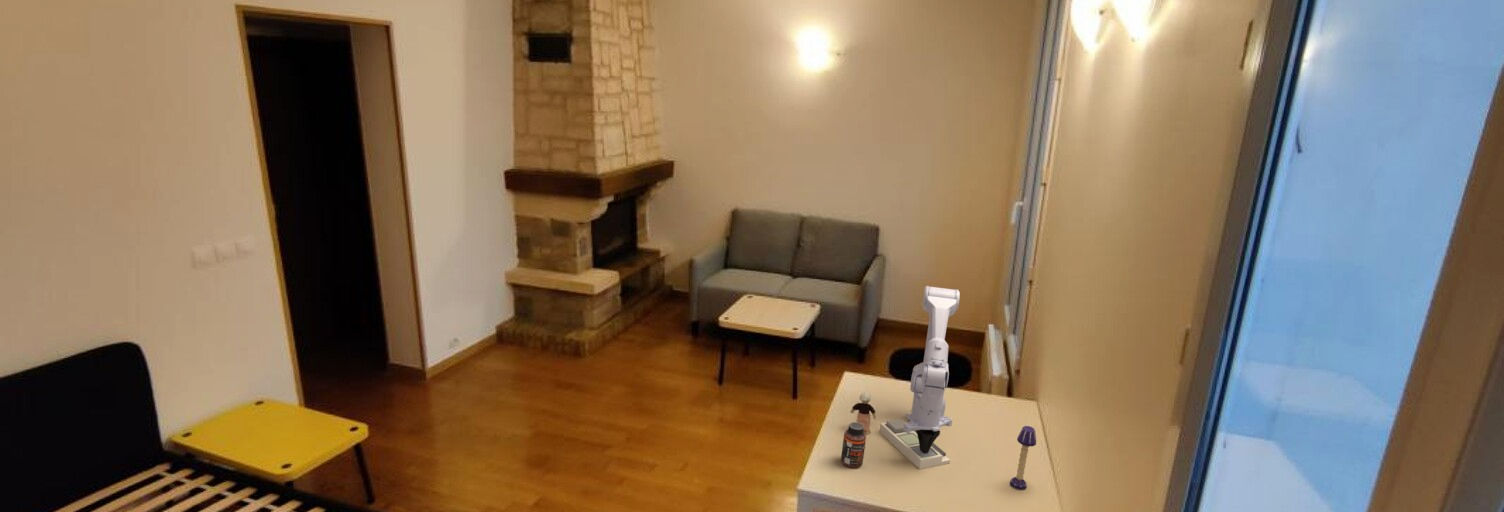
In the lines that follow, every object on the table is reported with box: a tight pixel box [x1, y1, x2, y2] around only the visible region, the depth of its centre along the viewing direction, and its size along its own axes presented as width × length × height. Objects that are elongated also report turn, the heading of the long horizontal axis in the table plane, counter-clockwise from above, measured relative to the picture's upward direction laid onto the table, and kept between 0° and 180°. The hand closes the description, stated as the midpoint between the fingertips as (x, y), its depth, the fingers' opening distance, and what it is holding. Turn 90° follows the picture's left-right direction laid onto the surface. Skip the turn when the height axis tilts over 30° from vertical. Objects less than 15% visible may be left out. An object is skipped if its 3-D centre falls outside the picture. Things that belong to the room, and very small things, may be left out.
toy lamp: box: [1009, 425, 1037, 490], centre depth 184 cm, size 5×5×17 cm
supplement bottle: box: [840, 421, 867, 469], centre depth 190 cm, size 6×6×11 cm
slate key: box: [912, 447, 936, 458], centre depth 195 cm, size 5×5×1 cm
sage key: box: [898, 434, 919, 446], centre depth 200 cm, size 5×5×1 cm
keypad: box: [879, 421, 951, 470], centre depth 201 cm, size 10×20×3 cm, turn 23°
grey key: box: [886, 418, 906, 434], centre depth 206 cm, size 5×5×1 cm
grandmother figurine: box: [849, 391, 878, 435], centre depth 206 cm, size 8×4×13 cm, turn 84°
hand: (923, 451), depth 194 cm, fingers closed, pressing on slate key
